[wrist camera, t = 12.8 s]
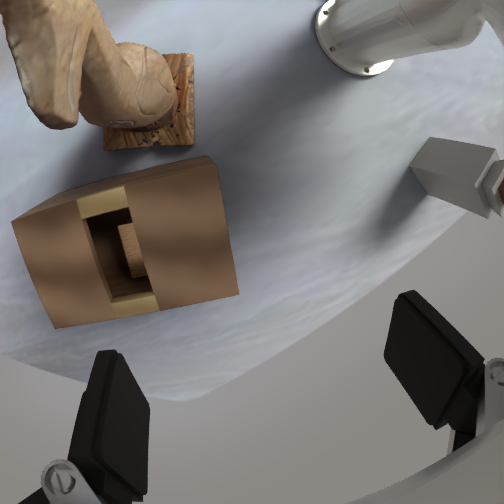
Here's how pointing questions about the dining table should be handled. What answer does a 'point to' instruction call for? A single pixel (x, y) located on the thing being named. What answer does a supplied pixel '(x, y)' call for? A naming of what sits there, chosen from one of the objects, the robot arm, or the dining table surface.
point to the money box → (112, 252)
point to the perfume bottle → (462, 175)
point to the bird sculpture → (97, 75)
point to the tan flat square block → (131, 247)
